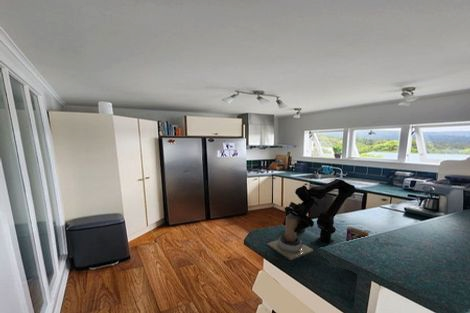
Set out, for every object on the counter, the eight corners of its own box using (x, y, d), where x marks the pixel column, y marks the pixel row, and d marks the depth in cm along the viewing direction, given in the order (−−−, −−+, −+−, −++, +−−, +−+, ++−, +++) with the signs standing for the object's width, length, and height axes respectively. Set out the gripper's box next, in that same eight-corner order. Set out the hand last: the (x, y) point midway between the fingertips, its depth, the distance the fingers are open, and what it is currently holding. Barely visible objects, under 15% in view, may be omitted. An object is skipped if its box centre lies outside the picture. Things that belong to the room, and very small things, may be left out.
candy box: (366, 261, 102) (369, 231, 101) (364, 265, 99) (367, 234, 98) (346, 254, 109) (349, 226, 107) (344, 257, 105) (346, 228, 104)
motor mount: (288, 238, 125) (289, 229, 124) (313, 251, 110) (313, 242, 110) (267, 244, 115) (267, 235, 115) (290, 260, 101) (291, 250, 101)
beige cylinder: (294, 238, 115) (296, 214, 114) (297, 244, 109) (298, 218, 108) (283, 238, 116) (285, 213, 115) (285, 243, 110) (287, 217, 109)
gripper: (287, 192, 121) (270, 213, 117) (311, 201, 104) (292, 226, 100) (297, 204, 125) (281, 224, 121) (321, 215, 107) (303, 239, 104)
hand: (288, 228), depth 111 cm, fingers open, 9 cm apart
